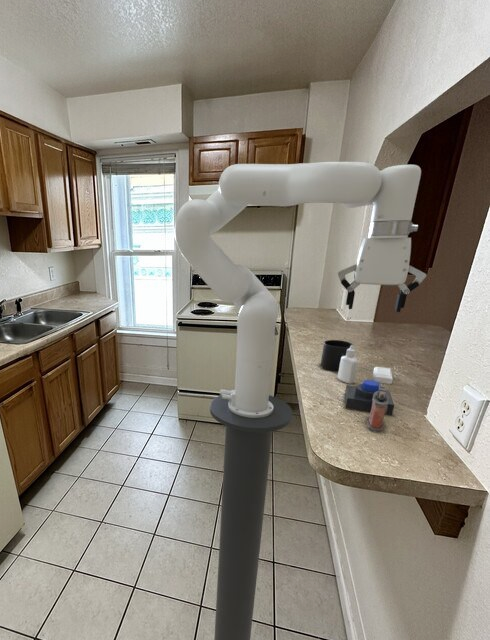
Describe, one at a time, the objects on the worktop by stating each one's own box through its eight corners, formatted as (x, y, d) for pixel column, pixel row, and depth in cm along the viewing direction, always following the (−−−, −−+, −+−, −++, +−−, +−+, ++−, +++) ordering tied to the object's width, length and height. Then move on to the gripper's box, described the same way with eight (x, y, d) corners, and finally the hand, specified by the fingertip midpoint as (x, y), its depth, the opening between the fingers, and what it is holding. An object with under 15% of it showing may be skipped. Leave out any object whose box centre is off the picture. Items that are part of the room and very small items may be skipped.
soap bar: (373, 381, 114) (375, 374, 114) (373, 372, 122) (374, 365, 121) (391, 384, 112) (393, 376, 111) (389, 375, 120) (391, 367, 119)
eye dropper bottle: (340, 383, 113) (346, 347, 109) (336, 377, 118) (342, 342, 114) (355, 384, 112) (361, 348, 108) (350, 378, 118) (357, 343, 113)
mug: (326, 374, 121) (330, 349, 118) (317, 362, 132) (320, 339, 129) (355, 375, 120) (360, 349, 117) (343, 363, 131) (347, 340, 128)
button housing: (345, 408, 97) (348, 391, 95) (344, 394, 105) (347, 379, 104) (391, 415, 93) (395, 398, 91) (387, 400, 101) (390, 384, 99)
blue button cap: (362, 391, 96) (363, 384, 96) (361, 385, 100) (362, 379, 99) (378, 393, 95) (380, 386, 94) (377, 387, 98) (378, 381, 98)
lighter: (383, 433, 84) (391, 395, 81) (366, 430, 86) (374, 392, 82) (382, 419, 91) (390, 383, 87) (367, 416, 92) (375, 381, 89)
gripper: (432, 230, 76) (414, 309, 82) (343, 232, 83) (332, 304, 89) (441, 229, 70) (420, 315, 76) (344, 231, 76) (332, 310, 82)
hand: (373, 309), depth 82 cm, fingers open, 9 cm apart
